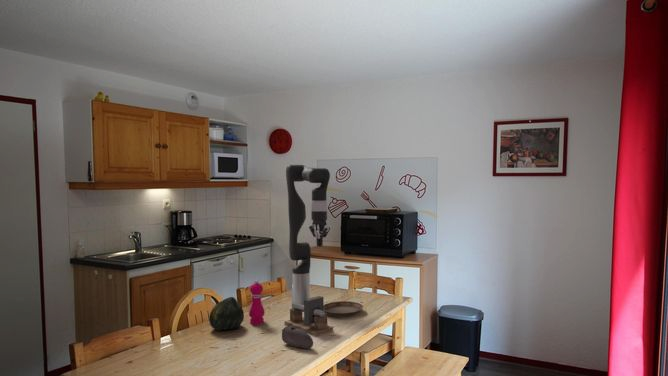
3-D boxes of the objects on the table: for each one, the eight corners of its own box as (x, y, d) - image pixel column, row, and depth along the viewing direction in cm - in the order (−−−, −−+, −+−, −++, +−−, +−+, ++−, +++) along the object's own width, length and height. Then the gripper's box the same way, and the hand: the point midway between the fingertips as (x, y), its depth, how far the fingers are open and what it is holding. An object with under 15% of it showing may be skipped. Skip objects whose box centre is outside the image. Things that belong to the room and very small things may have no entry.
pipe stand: (284, 324, 203) (284, 309, 203) (301, 319, 210) (300, 305, 210) (316, 336, 188) (316, 319, 188) (333, 330, 195) (333, 314, 194)
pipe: (291, 310, 205) (291, 302, 205) (296, 308, 207) (296, 301, 207) (320, 319, 191) (320, 311, 190) (326, 317, 193) (325, 309, 193)
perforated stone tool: (316, 348, 174) (316, 331, 174) (308, 353, 170) (307, 335, 170) (289, 340, 183) (289, 324, 183) (280, 344, 179) (280, 327, 179)
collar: (304, 323, 194) (303, 299, 194) (319, 318, 200) (318, 295, 200) (308, 324, 192) (308, 300, 192) (323, 320, 198) (323, 297, 198)
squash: (201, 315, 201) (212, 294, 194) (229, 309, 212) (241, 289, 205) (212, 341, 193) (225, 321, 187) (241, 334, 204) (254, 314, 197)
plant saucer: (318, 318, 213) (318, 311, 213) (326, 306, 233) (326, 300, 233) (360, 320, 209) (360, 313, 209) (365, 308, 230) (364, 301, 230)
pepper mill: (261, 325, 203) (260, 282, 203) (246, 324, 204) (246, 281, 204) (266, 320, 210) (266, 278, 210) (252, 319, 211) (252, 278, 211)
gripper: (304, 210, 212) (304, 245, 213) (322, 211, 203) (323, 248, 203) (315, 209, 218) (316, 244, 218) (334, 210, 208) (334, 246, 208)
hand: (319, 246), depth 210 cm, fingers closed
